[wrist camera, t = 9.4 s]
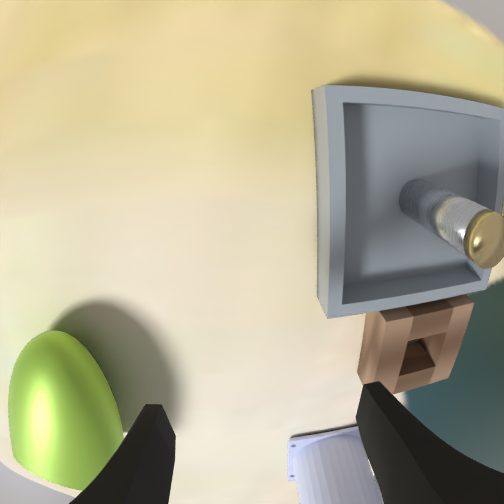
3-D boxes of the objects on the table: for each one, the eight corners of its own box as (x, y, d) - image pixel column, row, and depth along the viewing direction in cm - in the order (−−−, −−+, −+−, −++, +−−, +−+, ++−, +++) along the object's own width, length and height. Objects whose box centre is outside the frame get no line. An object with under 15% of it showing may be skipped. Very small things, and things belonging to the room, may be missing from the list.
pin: (430, 216, 17) (505, 265, 11) (397, 219, 17) (469, 272, 11) (432, 178, 16) (514, 213, 10) (399, 178, 16) (479, 216, 10)
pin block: (432, 354, 22) (448, 377, 20) (357, 372, 22) (369, 399, 20) (451, 281, 20) (474, 302, 17) (368, 295, 20) (386, 321, 17)
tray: (467, 273, 20) (486, 288, 17) (316, 295, 19) (327, 318, 17) (481, 107, 15) (507, 109, 13) (311, 89, 15) (324, 85, 12)
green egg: (102, 528, 18) (113, 424, 13) (0, 464, 18) (-41, 312, 13) (127, 477, 26) (162, 348, 20) (35, 423, 26) (29, 275, 20)
